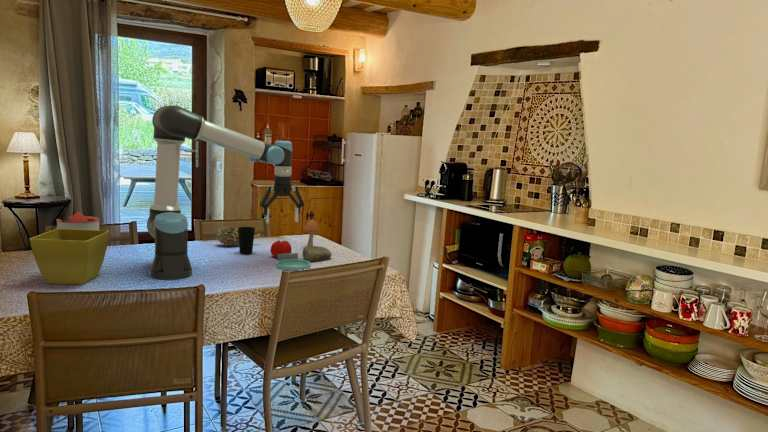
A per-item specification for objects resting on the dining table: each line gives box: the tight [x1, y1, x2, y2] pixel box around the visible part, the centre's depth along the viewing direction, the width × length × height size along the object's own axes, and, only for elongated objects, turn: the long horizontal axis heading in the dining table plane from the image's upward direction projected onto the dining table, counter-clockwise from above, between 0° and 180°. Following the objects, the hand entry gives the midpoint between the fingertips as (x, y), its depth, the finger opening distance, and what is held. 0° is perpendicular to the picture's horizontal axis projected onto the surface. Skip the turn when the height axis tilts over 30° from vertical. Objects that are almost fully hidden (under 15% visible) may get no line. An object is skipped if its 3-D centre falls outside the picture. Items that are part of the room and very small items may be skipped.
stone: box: [302, 245, 332, 263], centre depth 241 cm, size 9×14×10 cm, turn 132°
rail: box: [277, 252, 299, 261], centre depth 235 cm, size 9×1×4 cm, turn 119°
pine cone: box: [215, 225, 261, 247], centre depth 261 cm, size 22×10×10 cm, turn 120°
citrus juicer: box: [55, 211, 101, 230], centre depth 218 cm, size 16×17×20 cm
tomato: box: [270, 240, 293, 259], centre depth 242 cm, size 9×9×8 cm
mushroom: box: [303, 219, 320, 246], centre depth 262 cm, size 8×8×15 cm
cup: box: [237, 226, 256, 256], centre depth 245 cm, size 8×8×12 cm
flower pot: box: [29, 228, 110, 285], centre depth 190 cm, size 19×19×17 cm
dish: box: [275, 258, 312, 271], centre depth 227 cm, size 14×14×2 cm
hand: (281, 222), depth 240 cm, fingers open, 13 cm apart
